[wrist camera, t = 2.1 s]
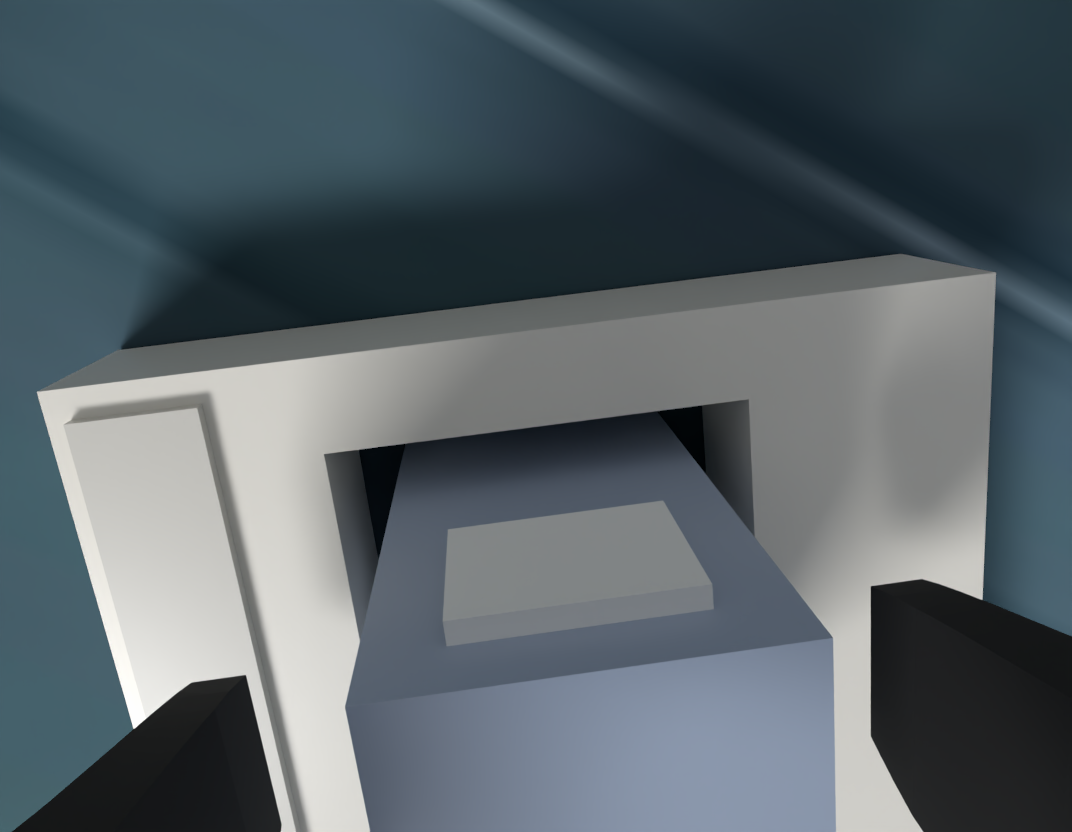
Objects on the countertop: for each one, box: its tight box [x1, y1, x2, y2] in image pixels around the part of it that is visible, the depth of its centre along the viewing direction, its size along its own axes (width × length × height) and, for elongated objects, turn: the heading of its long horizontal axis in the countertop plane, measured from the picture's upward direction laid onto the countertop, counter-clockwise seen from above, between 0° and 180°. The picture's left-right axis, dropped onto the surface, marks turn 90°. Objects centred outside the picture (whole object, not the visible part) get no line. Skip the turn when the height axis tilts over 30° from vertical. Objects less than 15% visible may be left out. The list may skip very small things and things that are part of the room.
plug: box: [345, 411, 836, 832], centre depth 11 cm, size 4×4×7 cm
